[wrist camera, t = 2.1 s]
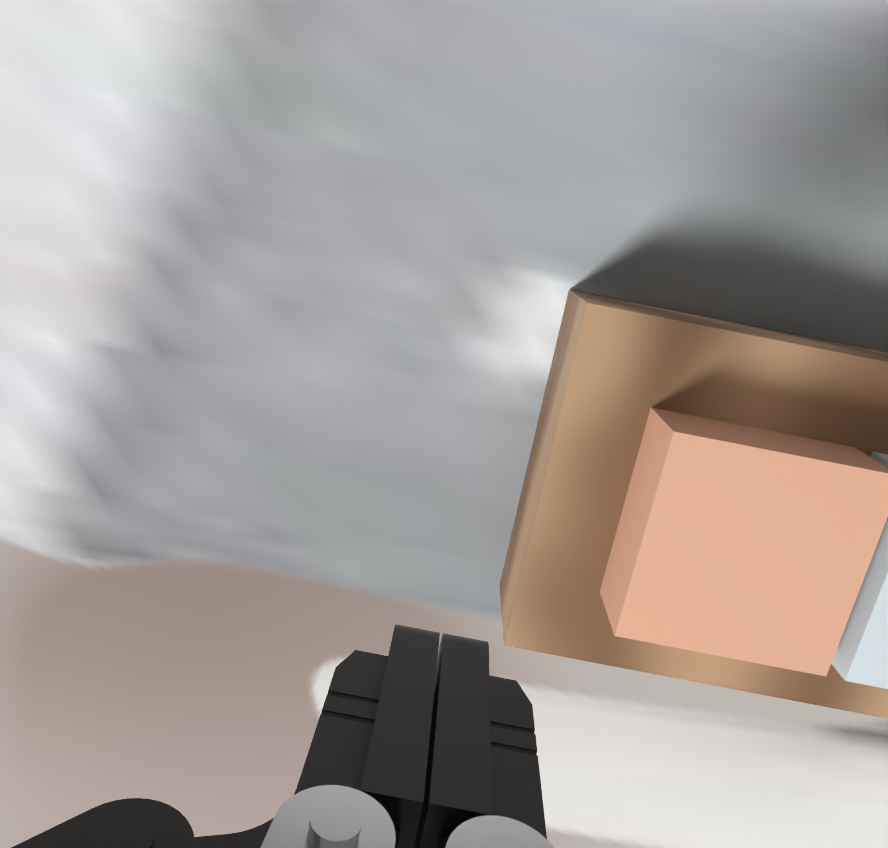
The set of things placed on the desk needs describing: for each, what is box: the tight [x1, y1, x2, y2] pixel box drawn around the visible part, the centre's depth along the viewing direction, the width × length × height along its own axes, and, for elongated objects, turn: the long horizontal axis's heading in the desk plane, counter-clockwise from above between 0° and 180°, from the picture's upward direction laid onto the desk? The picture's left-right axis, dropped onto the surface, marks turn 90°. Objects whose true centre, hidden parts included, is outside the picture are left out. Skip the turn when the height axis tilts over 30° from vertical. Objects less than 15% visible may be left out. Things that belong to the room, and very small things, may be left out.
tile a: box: [600, 407, 888, 676], centre depth 21 cm, size 6×6×2 cm
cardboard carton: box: [500, 290, 888, 718], centre depth 24 cm, size 18×11×4 cm, turn 79°
